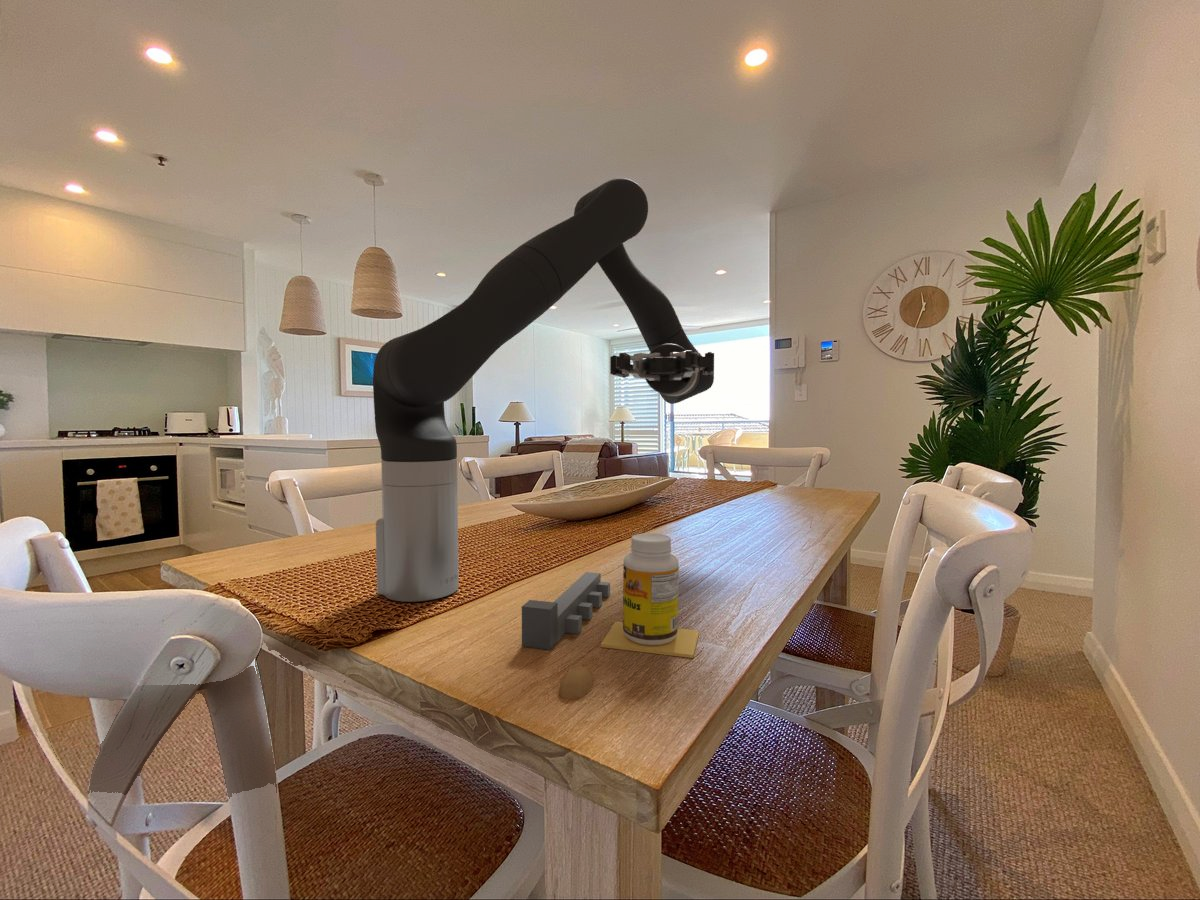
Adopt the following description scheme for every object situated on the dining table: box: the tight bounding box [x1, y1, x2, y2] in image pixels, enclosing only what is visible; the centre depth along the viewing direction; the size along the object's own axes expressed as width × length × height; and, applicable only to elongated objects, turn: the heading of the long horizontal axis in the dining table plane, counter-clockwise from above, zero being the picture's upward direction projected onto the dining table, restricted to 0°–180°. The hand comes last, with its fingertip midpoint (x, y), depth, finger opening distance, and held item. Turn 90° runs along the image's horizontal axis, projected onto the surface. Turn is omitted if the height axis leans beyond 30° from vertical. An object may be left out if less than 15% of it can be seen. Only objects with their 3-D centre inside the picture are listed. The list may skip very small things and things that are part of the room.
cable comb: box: [521, 571, 611, 651], centre depth 60 cm, size 4×18×4 cm, turn 164°
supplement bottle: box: [622, 532, 680, 645], centre depth 53 cm, size 6×6×10 cm
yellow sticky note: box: [600, 621, 700, 659], centre depth 53 cm, size 9×6×1 cm, turn 74°
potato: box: [558, 665, 595, 700], centre depth 44 cm, size 3×4×2 cm, turn 157°
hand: (654, 359), depth 67 cm, fingers open, 8 cm apart
